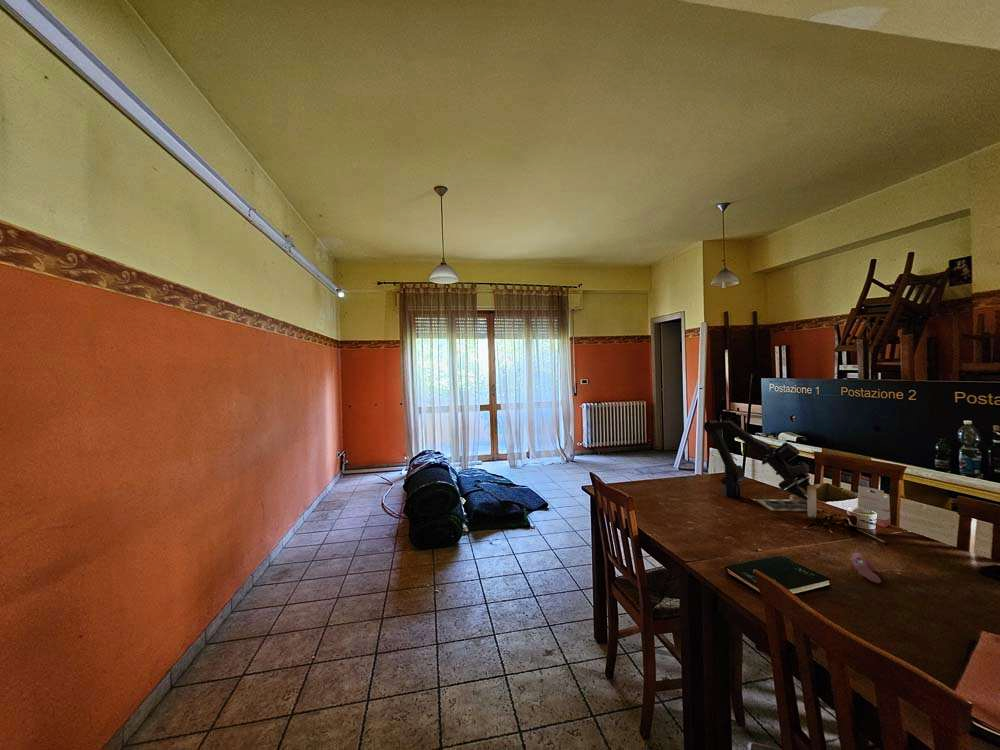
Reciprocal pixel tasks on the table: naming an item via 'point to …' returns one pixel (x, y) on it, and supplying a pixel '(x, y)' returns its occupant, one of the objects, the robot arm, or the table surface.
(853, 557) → the pink rounded piece
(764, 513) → the table surface
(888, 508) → the ink cartridge box
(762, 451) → the robot arm
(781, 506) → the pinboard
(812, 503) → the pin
